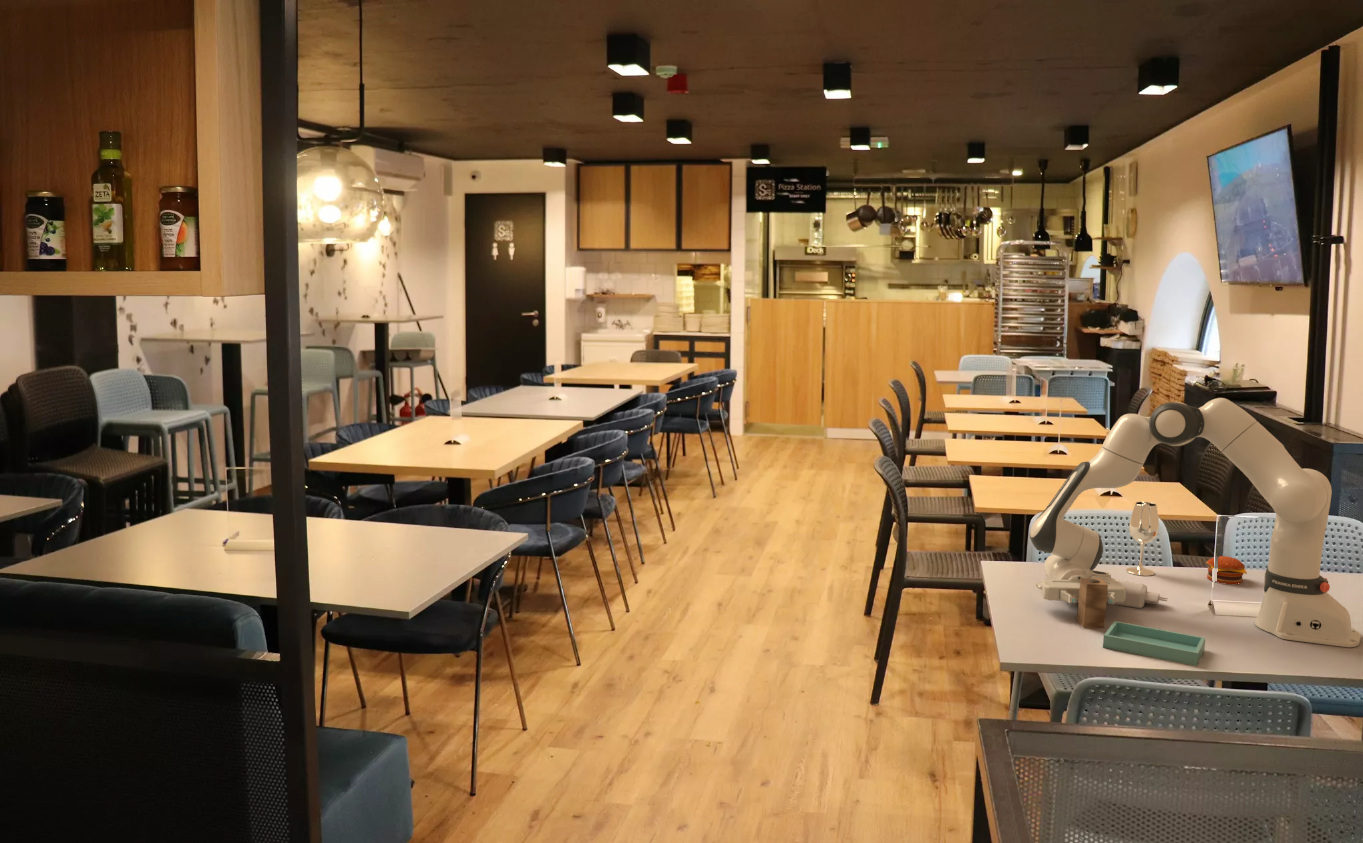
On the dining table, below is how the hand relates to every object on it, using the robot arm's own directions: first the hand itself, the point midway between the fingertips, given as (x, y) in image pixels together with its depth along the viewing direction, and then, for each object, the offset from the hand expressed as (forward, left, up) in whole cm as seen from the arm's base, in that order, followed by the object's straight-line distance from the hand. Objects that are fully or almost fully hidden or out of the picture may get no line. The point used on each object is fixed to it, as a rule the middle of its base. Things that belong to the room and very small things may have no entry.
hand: (1092, 600), depth 274 cm
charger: (-6, -24, -6) cm, 26 cm away
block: (0, 0, -6) cm, 6 cm away
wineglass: (-2, -55, -6) cm, 55 cm away
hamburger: (-23, -61, -6) cm, 65 cm away
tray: (-16, +9, -6) cm, 19 cm away
